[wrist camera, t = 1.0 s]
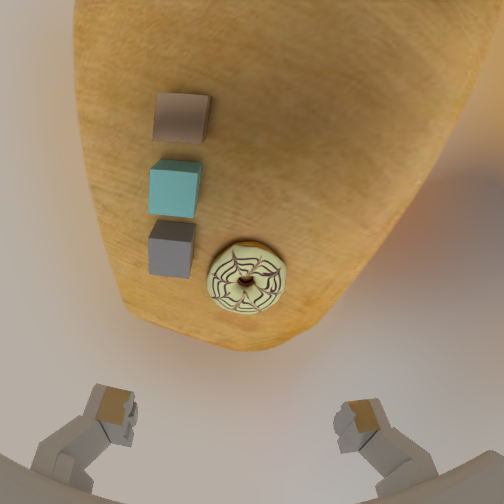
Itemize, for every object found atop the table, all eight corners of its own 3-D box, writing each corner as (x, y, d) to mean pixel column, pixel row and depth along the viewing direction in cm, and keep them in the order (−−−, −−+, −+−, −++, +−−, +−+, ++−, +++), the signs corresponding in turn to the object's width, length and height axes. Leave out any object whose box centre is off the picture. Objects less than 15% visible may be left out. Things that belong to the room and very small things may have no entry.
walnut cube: (168, 92, 28) (157, 92, 24) (211, 96, 29) (208, 95, 24) (163, 134, 30) (152, 140, 26) (205, 138, 31) (201, 144, 27)
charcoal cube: (157, 219, 36) (148, 238, 31) (195, 223, 36) (191, 242, 32) (157, 253, 38) (149, 274, 34) (193, 257, 39) (188, 278, 35)
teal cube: (160, 158, 32) (150, 169, 27) (202, 162, 33) (197, 173, 28) (158, 197, 34) (148, 213, 30) (197, 201, 35) (193, 218, 31)
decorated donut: (296, 252, 40) (302, 267, 37) (264, 308, 44) (266, 325, 41) (224, 227, 37) (224, 241, 34) (199, 290, 42) (197, 306, 39)
